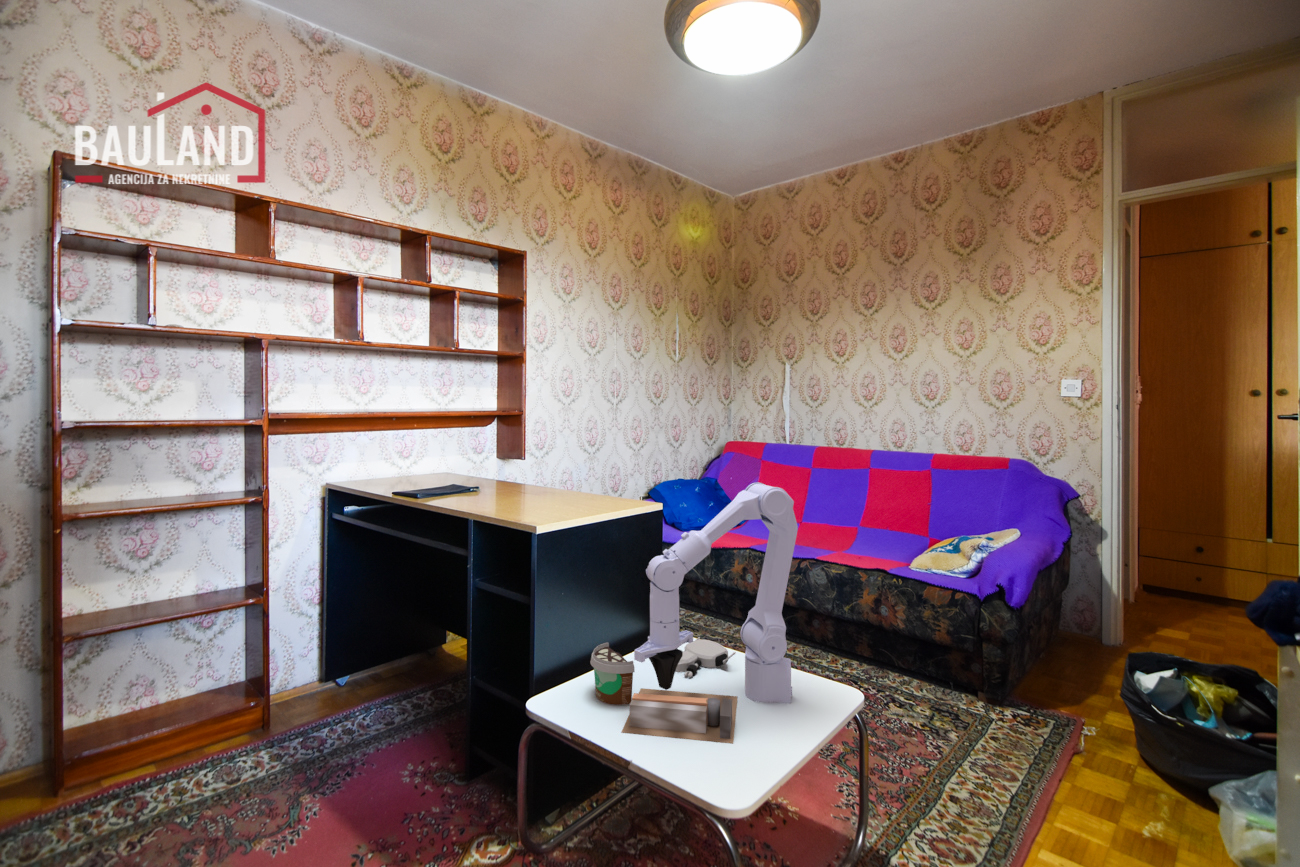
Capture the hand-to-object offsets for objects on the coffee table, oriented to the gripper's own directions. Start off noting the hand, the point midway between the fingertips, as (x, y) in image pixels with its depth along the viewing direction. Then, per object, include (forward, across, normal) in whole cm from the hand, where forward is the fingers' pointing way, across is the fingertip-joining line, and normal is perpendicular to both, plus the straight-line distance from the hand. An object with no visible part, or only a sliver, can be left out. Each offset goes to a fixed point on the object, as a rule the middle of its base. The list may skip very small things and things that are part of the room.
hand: (665, 687), depth 120 cm
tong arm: (+4, +3, +6) cm, 7 cm away
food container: (+5, +6, -11) cm, 13 cm away
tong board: (+5, 0, +4) cm, 7 cm away
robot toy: (+6, -20, -10) cm, 23 cm away
